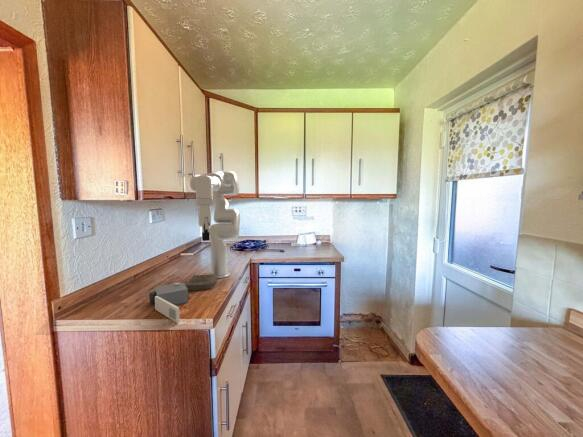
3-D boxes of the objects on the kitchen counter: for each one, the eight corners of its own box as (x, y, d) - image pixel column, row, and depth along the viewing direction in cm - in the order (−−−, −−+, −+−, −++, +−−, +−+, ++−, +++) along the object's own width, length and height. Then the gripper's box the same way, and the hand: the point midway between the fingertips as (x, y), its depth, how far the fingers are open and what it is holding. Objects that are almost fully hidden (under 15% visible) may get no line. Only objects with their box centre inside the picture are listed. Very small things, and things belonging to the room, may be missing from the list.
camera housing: (148, 300, 109) (148, 286, 108) (183, 294, 117) (182, 280, 116) (150, 310, 99) (150, 294, 99) (188, 302, 107) (187, 287, 107)
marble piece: (181, 292, 120) (180, 284, 120) (186, 282, 134) (186, 275, 134) (216, 289, 124) (215, 281, 124) (217, 280, 138) (217, 273, 138)
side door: (157, 308, 100) (157, 295, 100) (179, 321, 89) (179, 307, 89) (154, 309, 99) (153, 296, 99) (175, 323, 88) (175, 308, 88)
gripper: (195, 201, 119) (196, 238, 121) (197, 203, 105) (198, 244, 107) (211, 201, 122) (212, 237, 124) (215, 202, 108) (216, 242, 110)
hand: (205, 240), depth 116 cm, fingers closed
